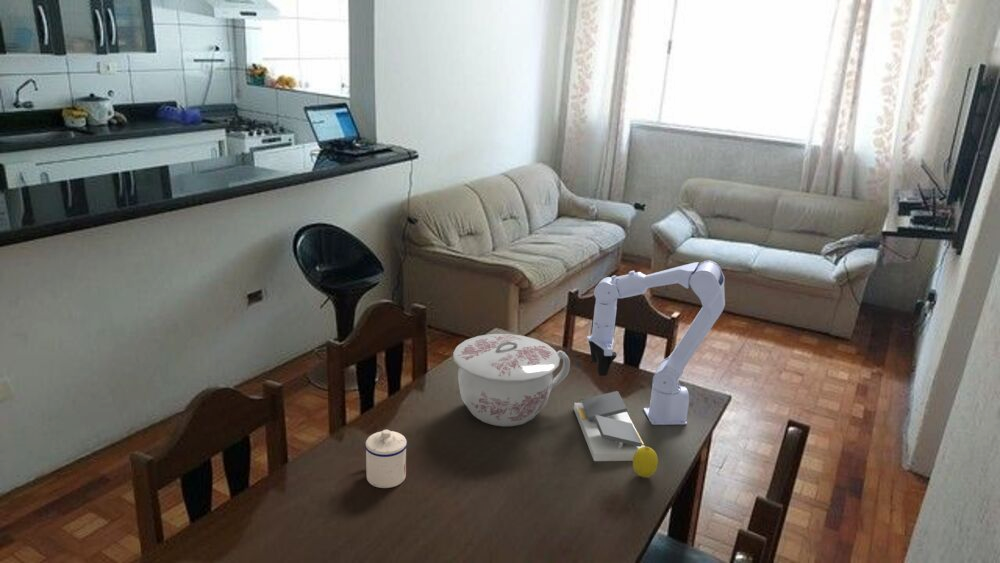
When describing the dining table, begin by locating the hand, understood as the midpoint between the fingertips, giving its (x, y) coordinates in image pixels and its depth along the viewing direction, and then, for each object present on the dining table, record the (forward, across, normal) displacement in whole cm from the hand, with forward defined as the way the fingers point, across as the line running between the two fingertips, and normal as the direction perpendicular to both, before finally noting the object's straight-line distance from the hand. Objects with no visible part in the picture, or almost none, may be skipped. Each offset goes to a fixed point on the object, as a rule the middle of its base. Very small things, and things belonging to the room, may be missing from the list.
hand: (599, 368), depth 189 cm
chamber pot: (+10, +6, -26) cm, 29 cm away
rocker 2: (+6, +22, 0) cm, 23 cm away
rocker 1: (+6, +10, 0) cm, 12 cm away
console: (+10, +16, 0) cm, 19 cm away
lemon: (+10, +35, +3) cm, 37 cm away
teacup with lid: (+10, +32, -56) cm, 65 cm away
